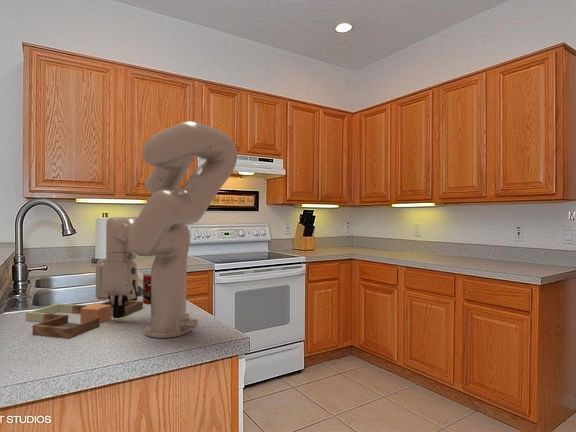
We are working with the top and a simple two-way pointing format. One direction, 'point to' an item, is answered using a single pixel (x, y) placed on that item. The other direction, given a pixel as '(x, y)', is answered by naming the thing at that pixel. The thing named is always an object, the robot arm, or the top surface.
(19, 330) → the top surface
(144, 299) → the canned food
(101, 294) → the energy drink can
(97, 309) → the block
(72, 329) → the box
